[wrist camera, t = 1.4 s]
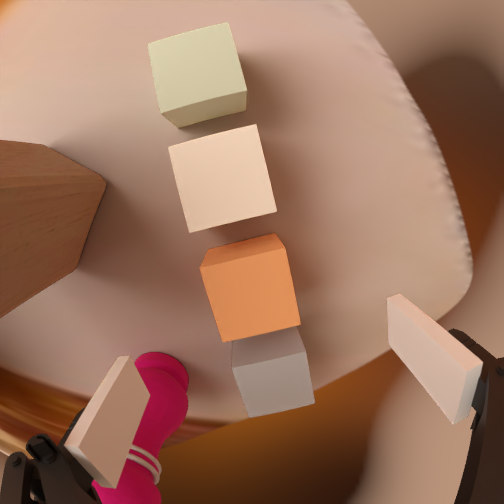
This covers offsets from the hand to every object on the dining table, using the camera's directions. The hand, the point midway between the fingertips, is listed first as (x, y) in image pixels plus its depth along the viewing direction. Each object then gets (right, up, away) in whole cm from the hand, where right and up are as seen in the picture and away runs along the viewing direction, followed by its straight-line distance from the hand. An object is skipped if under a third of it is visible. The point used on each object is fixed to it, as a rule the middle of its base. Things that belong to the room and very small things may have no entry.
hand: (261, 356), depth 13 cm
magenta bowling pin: (-10, -8, +15) cm, 20 cm away
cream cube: (-3, +11, +11) cm, 16 cm away
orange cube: (-1, +3, +13) cm, 14 cm away
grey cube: (+1, -5, +15) cm, 16 cm away
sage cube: (-5, +19, +9) cm, 22 cm away
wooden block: (-20, +10, +11) cm, 25 cm away
